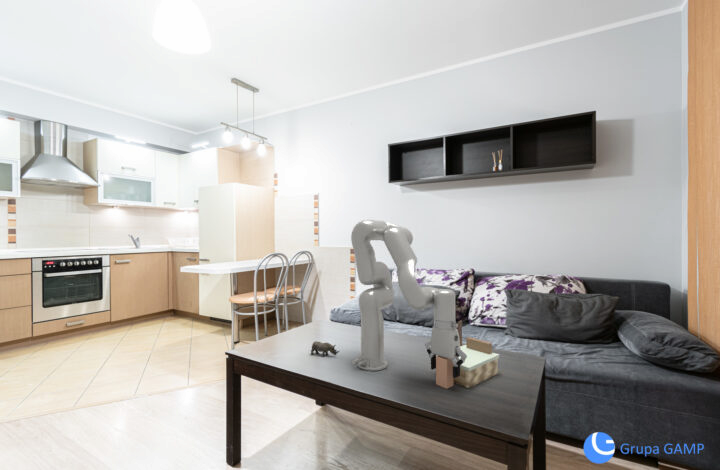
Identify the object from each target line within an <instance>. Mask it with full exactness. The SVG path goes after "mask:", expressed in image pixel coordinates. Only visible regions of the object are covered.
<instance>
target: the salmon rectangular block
mask: <svg viewBox="0 0 720 470" xmlns="http://www.w3.org/2000/svg"><path fill="white" fill-rule="evenodd" d="M435 379H436V380H435V384H436V386H439V387H442V388H443V389H449V388H451V387H454V383H453V362H452V360H451V359H448V358H445V357H442V356H439V355H438V356H436V369H435Z"/></svg>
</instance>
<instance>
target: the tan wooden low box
mask: <svg viewBox="0 0 720 470" xmlns="http://www.w3.org/2000/svg"><path fill="white" fill-rule="evenodd" d="M498 360H499V358H497V359H495V360H493V361H491V362H489V363H486V364H484V365H482V366H480V367H478V368H475V369H473V370H471V371H466V370H463V369H461V368H460V376H459V377H456V378H453V384H457V385H459V386H462V387H464V388H466V389H470V388H473V387H474V386H476V385H478V384H480V383H482V382H484V381H486V380H488V379H490V378H491V377H492V378H493V377H494V376H496V375H497V374H498V375H499V373H498V372H499V371H498V369H499V368H498V364H499V363H498V362H499V361H498Z"/></svg>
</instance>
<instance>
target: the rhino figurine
mask: <svg viewBox="0 0 720 470" xmlns="http://www.w3.org/2000/svg"><path fill="white" fill-rule="evenodd" d="M335 347H336V344H334V345H332V344H331V343H330V342H321V341H313V342H312V344H311V350H310V355H311V356H314V355H315V354H317V355H319V354H320V353H322V355H321V357H322V358H325V357H326V356H330V354H332V355H334V356H336V355H337V354H339V352H340V350H337V349H335ZM314 352H315V353H314ZM329 352H330V353H329Z"/></svg>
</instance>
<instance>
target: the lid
mask: <svg viewBox="0 0 720 470" xmlns="http://www.w3.org/2000/svg"><path fill="white" fill-rule="evenodd" d="M465 339H466V344H462V346H461V347H460V348H461V350H462V351H463V352H464V353H465V354H466V355H467V358H466V359H465V362H464V363H462V365H460V368H461V369H463V370H466V371H471V370H473V369H475V368H478V367H480V366H482V365H484V364H486V363H489V362H491V361H493V360H495V359H497V358H498V359H500V354H499V353H495V352H493V343H492V342H490V341H486V340H482V339H477V338H473V337H470V336H469V337H466V338H465ZM437 356H438V355H437ZM460 358H461V356H460V357H459V359H460ZM455 360H456V359H455ZM456 362H457V361H456ZM453 366H454V364H453Z"/></svg>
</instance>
